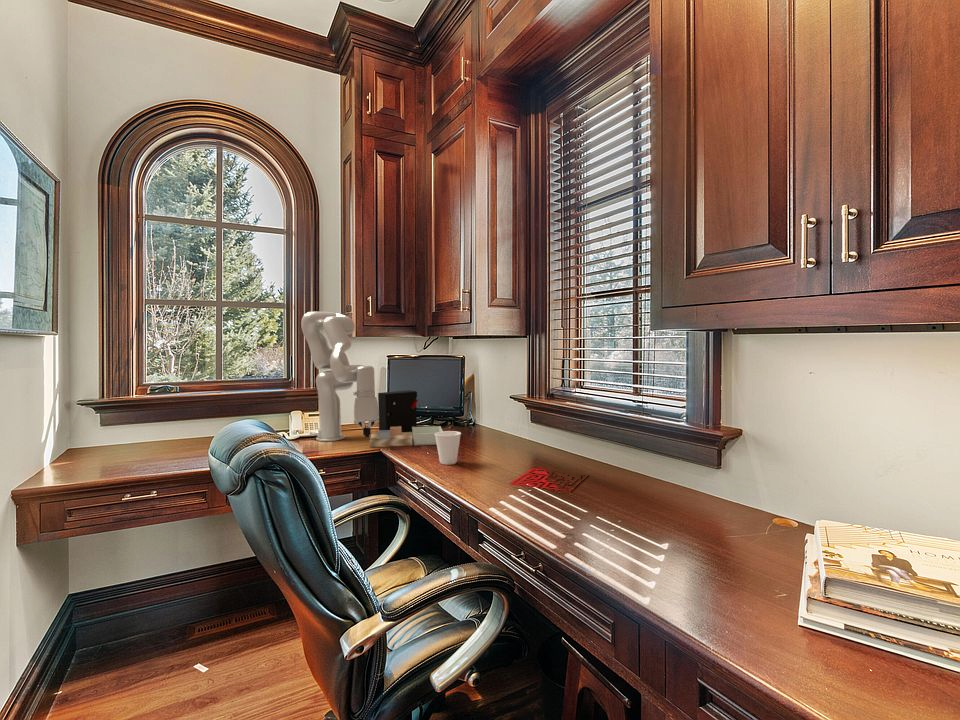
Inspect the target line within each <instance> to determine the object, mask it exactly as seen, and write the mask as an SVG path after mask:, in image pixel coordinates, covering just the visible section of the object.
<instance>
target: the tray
mask: <svg viewBox="0 0 960 720" xmlns="http://www.w3.org/2000/svg"><path fill="white" fill-rule="evenodd" d="M441 431H444V430H443V428H442V426H441V425H437V426H434V425H433V426H417V427H412V432H411V433H412V443H413V446H416V447H417V446H433V445H435V446H437V443H436V438H435V435H434V434H435V433H437V432H441Z"/></svg>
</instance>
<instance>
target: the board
mask: <svg viewBox="0 0 960 720" xmlns="http://www.w3.org/2000/svg"><path fill="white" fill-rule="evenodd" d="M403 446H409V447H410V446H414V444H413V437H412V432H402V435H390V439H379V440H378V433H371V435H370V438H369V448H383V447H385V448H386V447H403Z"/></svg>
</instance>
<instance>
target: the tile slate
mask: <svg viewBox="0 0 960 720" xmlns="http://www.w3.org/2000/svg"><path fill="white" fill-rule="evenodd" d="M377 434H378V440H379V439H390V430H379V429H378V430H377Z"/></svg>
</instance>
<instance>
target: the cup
mask: <svg viewBox="0 0 960 720" xmlns="http://www.w3.org/2000/svg"><path fill="white" fill-rule="evenodd" d="M434 435H435V438H436V443H437V445H436V448H437V453H438V460H439V463H440V464H441V465H444V466H445V465H446V466H448V465H449V466H450V465H455V464H456V463H457V462H458V454H459V448H460V441H461V435H462V433H461V431H456V430H455V431H454V430H443V431H441V432H437V433H435V434H434Z"/></svg>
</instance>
